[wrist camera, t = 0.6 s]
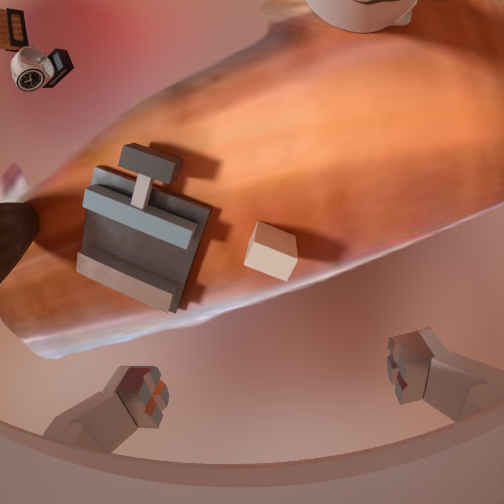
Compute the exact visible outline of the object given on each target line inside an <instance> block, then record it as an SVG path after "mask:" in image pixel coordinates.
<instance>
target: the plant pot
mask: <svg viewBox="0 0 504 504" xmlns="http://www.w3.org/2000/svg"><path fill="white" fill-rule="evenodd" d="M38 230H39V221H38V217H37V215H36V212H35V211H34V209H33V208H32V207H31V206H30V205H28V204H26V203H0V283H1V282H2V281H3V280H4V279H5V278H6V276H7V275H8V274H9V273H10V272H11V270H12V269H13V268H14V267H15V266H16V264H17V263H18V262H19V260H20V259H21V258H22V256H23V255H24V253H25V252H26V251H27V249H28V248H29V246H30V245H31V243H32V241H33V240H34V238H35V237H36V235H37V233H38Z"/></svg>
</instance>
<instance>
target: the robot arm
mask: <svg viewBox="0 0 504 504" xmlns="http://www.w3.org/2000/svg"><path fill="white" fill-rule="evenodd" d="M305 1H306V2H307V4H308V5H309V7H310V8H311V9H312V10H313V11H314V12H315V13H316V14H317V15H318V16H319V17H320V18H322V19H323V20H324V21H326V22H328V23H329V24H331V25H333V26H335V27H338V28H340V29H343V30H347V31H351V32H358V33H369V32H375V31H378V30H381V29H383V28H385V27H388V26H391V25H393V26H405V25H408V24H409V23H410V21H411V16H412V8H413V7H414V6H415V5H416V4H417V2H418V0H305ZM388 349H389V351H390V355H389V356H388V357H387V371H388V376H389V379H390V381H391V383H392V384H394V385H396V386H395V393H396V396H397V398H398V400H399V403H400V405H402V404H406V403H410V402H414V401H418V400H421V399H423V400H424V401H425V402H427V403H428V404H430V405H431V406H433V407H434V408H436V409H437V410H439V411H440V412H442V413H443V414H445V415H446V416H447V417H449V418H450V419H452V420H453V421H455V422H456V423H453V424H450V425H448V426H445V427H442V428H439V429H437V430H434V431H431V432H428V433H425V434H422V435H419V436H415V437H412V438H409V439H405V440H402V441H398V442H395V443H391V444H387V445H383V446H379V447H375V448H371V449H366V450H361V451H356V452H352V453H346V454H341V455H335V456H328V457H323V458H315V459H307V460H299V461H288V462H276V463H260V464H197V463H181V462H180V463H179V462H169V461H159V460H150V459H143V458H135V457H129V456H122V455H117V454H112V453H111V452H112V451H113V450H115V449H116V448H117V447H118V446H119V445H120V444H122V443H123V442H124V441H125V440H126V439H127V438H128V437H129V436H131V435H132V434H133V433H134V432H135V431H136V430H137V429H138V428H157V429H158V427H159V425H160V422H161V420H162V417H163V415H162V412H161V411H162V410H164V409H165V408H166V407H167V405H168V402H169V401H168V400H169V393H168V389H167V387H166V384H165V383H164V382H162V381H161V380H160V377H161V373H160V371H159V369H158V368H157V367H155V366H120V367H118V369H117V370H116V372H115V373H114V375H113V376H112V378H111V379H110V381H109V382H108V384H107V385H106V387H105V388H104V390H103V391H102V392H98V393H96V394H94V395H92V396H91V397H89V398H87V399H86V400H84V401H82V402H81V403H79V404H77V405H75V406H74V407H72V408H70V409H69V410H67V411H65V412H63V413H62V414H60V415H58V416H56V417H55V418H54V419H53V421H52V423H51V424H50V425H49V427H48V428H47V429H46V431H45V432H44V434H43V435H42V436H41V435H38V434H35V433H32V432H29V431H26V430H24V429H21V428H18V427H16V426H13V425H10V424H8V423H5V422H3V421H0V504H504V370H501V369H498V368H495V367H493V366H490V365H487V364H484V363H482V362H479V361H477V360H474V359H471V358H469V357H466V356H463V355H461V354H458V353H456V352H450V353H449V352H448V350H447V349H446V347H445V346H444V345H443V343H442V342H441V341H440V339H439V338H438V337H437V336H436V334H435V333H434V332H433V331H432V329H431V328H429V327H427V328H424V329H420V330H417V331H415V332H411V333H407V334H403V335H399V336H395V337H391V338H389V341H388Z"/></svg>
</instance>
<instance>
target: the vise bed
mask: <svg viewBox="0 0 504 504" xmlns="http://www.w3.org/2000/svg"><path fill="white" fill-rule="evenodd" d="M136 181H137V179H136V178H133V177H130V176H127V175H125V174H122V173H119V172H117V171H114V170H111V169H108V168H106V167H103V166H100V165H99V166H96V167H94V172H93V177H92V182H91V186H92V185H94V184H97V185H99V186H102V187H105V188H107V189H110V190H112V191H115V192H117V193H120V194H123V195H125V196H128V197H130V198H132V197H133V193H134V189H135V185H136ZM148 205H151V206H153V207H156V208H158V209H161V210H164V211H166V212H169V213H171V214H174V215H176V216H179V217H181V218H184V219H186V220H189V221H192V222H194V223H197V224H198V225H197V228H196V231H195V234H194V237H193V240H192V242H191V244H190V245H189V247H188V248H187V250H186V249H184V248H181V247H179V246H176V245H174V244H171V243H169V242H166V241H164V240H161V239H159V238H156V237H154V236H151V235H149V234H147V233H144V232H142V231H139V230H137V229H134V228H132V227H130V226H127V225H125V224H122V223H120V222H118V221H115V220H113V219H110V218H108V217H106V216H103V215H101V214H98V213H96V212H94V211H91V210H89V209H87V211H86V218H85V225H84V233H83V241H82V249H81V250H80V251H79V252H78V255H77V267H76V271H77V272H79V273H81V274H83V275H85V276H87V277H89V278H91V279H93V280H95V281H97V282H99V283H101V284H103V285H105V286H107V287H110V288H112V289H114V290H116V291H118V292H120V293H123V294H125V295H127V296H129V297H131V298H134V299H136V300H138V301H141V302H143V303H145V304H147V305H150V306H152V307H154V308H157V309H159V310H162V311H164V312H166V313H168V311H171V312H173V313H176V312H177V309H178V307H179V304H180V300H181V297H182V294H183V291H184V288H185V285H186V282H187V279H188V276H189V273H190V270H191V267H192V264H193V261H194V258H195V255H196V252H197V249H198V246H199V243H200V240H201V237H202V235H203V232H204V229H205V226H206V223H207V220H208V218H209V215H210V212H211V209H212V207H209V206H207V205H204V204H202V203H199V202H196V201H194V200H191V199H189V198H186V197H183V196H181V195H178V194H176V193H173V192H170V191H168V190H165V189H162V188H160V187H157V186H154V185H152V189H151V193H150V196H149V200H148Z"/></svg>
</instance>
